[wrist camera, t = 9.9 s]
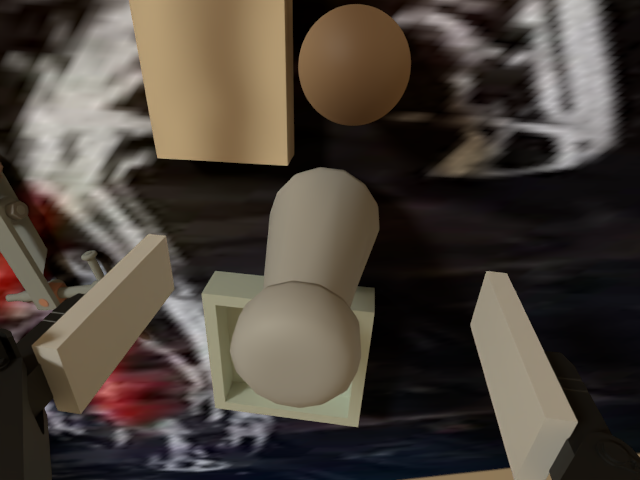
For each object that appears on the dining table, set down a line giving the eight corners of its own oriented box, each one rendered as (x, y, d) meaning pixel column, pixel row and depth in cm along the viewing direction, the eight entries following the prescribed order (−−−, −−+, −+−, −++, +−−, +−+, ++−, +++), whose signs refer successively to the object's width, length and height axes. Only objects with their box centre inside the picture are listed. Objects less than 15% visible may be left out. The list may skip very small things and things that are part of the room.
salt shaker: (263, 213, 25) (169, 383, 13) (311, 134, 22) (246, 263, 11) (343, 261, 26) (320, 457, 14) (399, 191, 23) (425, 365, 12)
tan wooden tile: (176, 145, 24) (157, 157, 21) (143, -69, 19) (114, -80, 17) (295, 152, 23) (287, 165, 21) (293, -69, 18) (282, -79, 16)
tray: (225, 381, 32) (215, 407, 30) (215, 271, 27) (201, 293, 25) (359, 398, 31) (357, 427, 29) (374, 288, 26) (374, 312, 24)
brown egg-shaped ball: (316, 94, 21) (297, 121, 16) (320, 4, 19) (299, 1, 14) (394, 99, 20) (401, 129, 15) (407, 8, 19) (419, 7, 13)
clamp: (-121, 166, 24) (21, 140, 22) (-85, 155, 26) (49, 130, 24) (15, 353, 31) (131, 345, 29) (36, 333, 33) (146, 325, 31)
